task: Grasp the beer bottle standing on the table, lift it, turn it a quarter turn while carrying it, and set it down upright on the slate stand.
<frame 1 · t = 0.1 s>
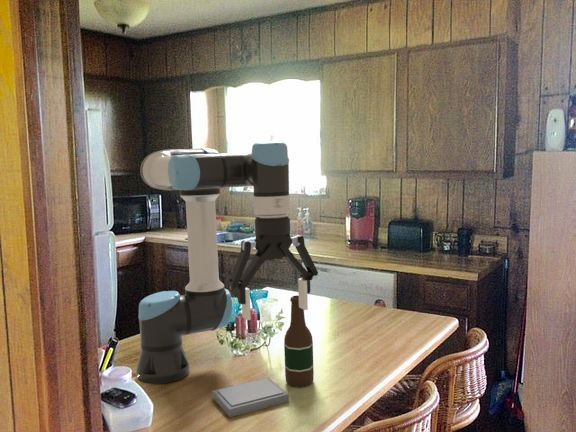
hand: (275, 313, 116), 28 cm above the table, fingers open, 13 cm apart
slate stand: (250, 399, 137), on the table
beer bottle: (299, 382, 147), on the table
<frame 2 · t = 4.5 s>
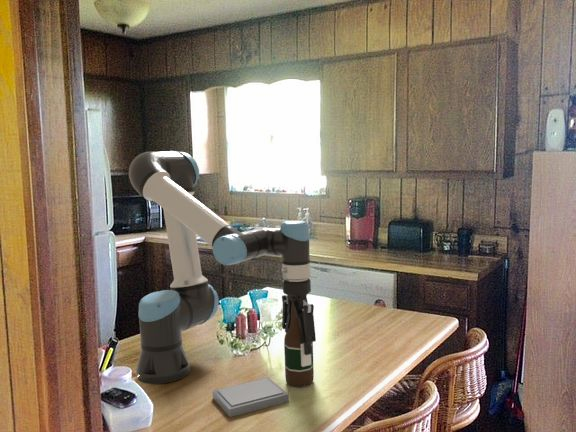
hand: (299, 360, 147), 6 cm above the table, fingers closed on beer bottle, 7 cm apart
beer bottle: (299, 382, 147), on the table, touching gripper
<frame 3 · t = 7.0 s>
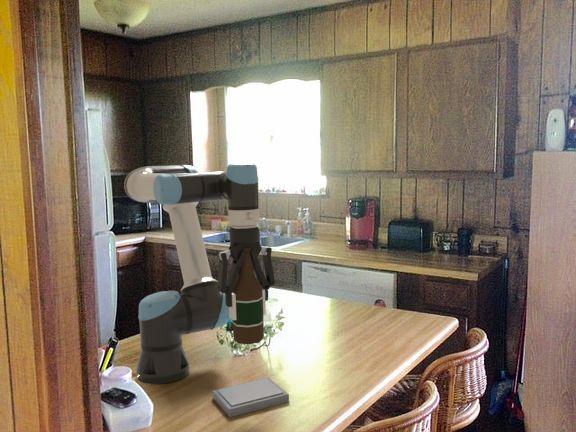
hand: (247, 316, 135), 22 cm above the table, fingers closed on beer bottle, 7 cm apart
beer bottle: (248, 340, 136), point 16 cm above the table, touching gripper
when the fingers open (9 cm above the table, at t = 9.9 s): beer bottle stays where it is, resting on slate stand.
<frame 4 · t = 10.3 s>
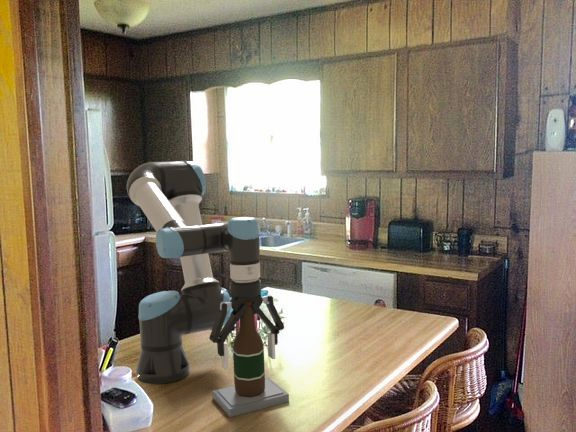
hand: (249, 362, 136), 10 cm above the table, fingers open, 12 cm apart
beer bottle: (250, 391, 137), point 2 cm above the table, touching slate stand
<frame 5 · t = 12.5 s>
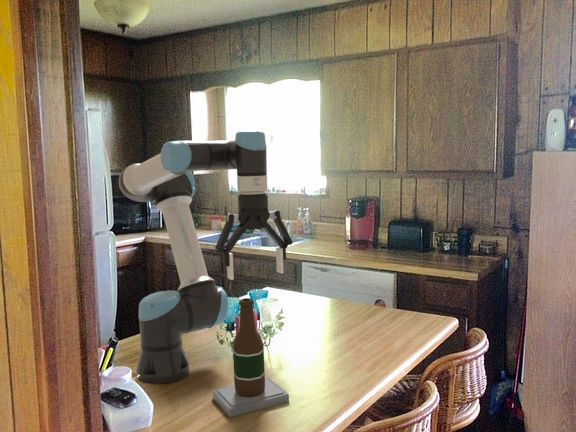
hand: (255, 275, 137), 32 cm above the table, fingers open, 13 cm apart
nothing on the table moved.
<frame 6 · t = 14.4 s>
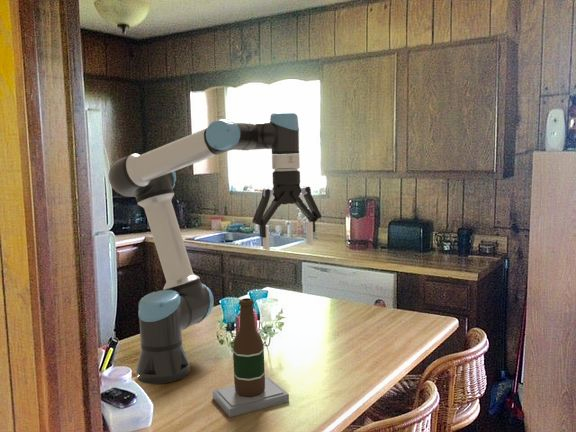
hand: (288, 246, 149), 37 cm above the table, fingers open, 13 cm apart
nothing on the table moved.
at the end: beer bottle inside the target area on the slate stand (0.0 cm from its centre), point 2.1 cm above the slate stand's base; beer bottle tilted 0°; the gripper is holding nothing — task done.
